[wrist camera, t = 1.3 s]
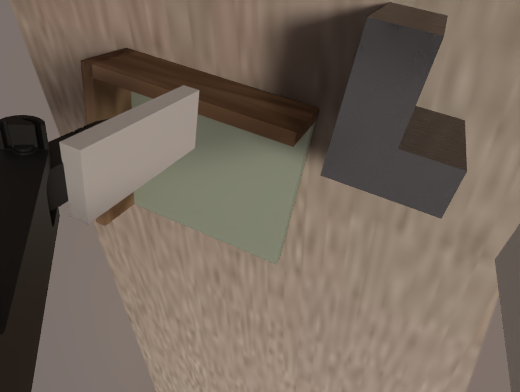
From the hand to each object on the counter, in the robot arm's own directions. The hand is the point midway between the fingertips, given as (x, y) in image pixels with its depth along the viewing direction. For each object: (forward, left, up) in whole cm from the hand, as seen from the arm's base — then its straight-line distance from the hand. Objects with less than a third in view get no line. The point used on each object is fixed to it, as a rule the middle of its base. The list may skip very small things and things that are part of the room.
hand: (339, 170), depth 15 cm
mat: (+14, -15, -18) cm, 27 cm away
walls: (+14, -15, -18) cm, 27 cm away
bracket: (+1, 0, -18) cm, 18 cm away
